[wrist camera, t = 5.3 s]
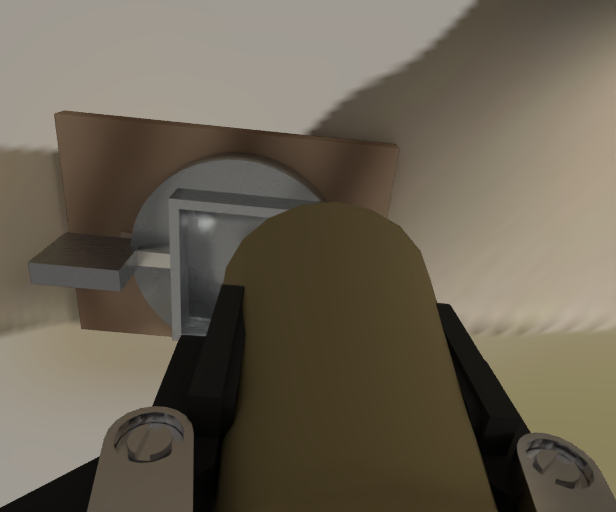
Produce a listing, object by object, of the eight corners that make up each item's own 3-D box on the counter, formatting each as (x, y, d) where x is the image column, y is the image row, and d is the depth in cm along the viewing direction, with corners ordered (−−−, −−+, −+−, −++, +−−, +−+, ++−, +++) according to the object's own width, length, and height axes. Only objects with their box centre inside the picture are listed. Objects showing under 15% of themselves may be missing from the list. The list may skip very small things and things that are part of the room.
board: (396, 144, 27) (400, 149, 26) (360, 342, 33) (362, 355, 32) (64, 110, 27) (51, 114, 25) (89, 319, 32) (79, 330, 31)
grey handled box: (352, 163, 26) (361, 189, 22) (327, 340, 31) (330, 392, 27) (62, 134, 26) (9, 155, 21) (85, 319, 31) (45, 368, 26)
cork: (254, 404, 15) (171, 1143, 5) (191, 231, 12) (-238, 978, 2) (443, 364, 14) (785, 1083, 4) (414, 177, 12) (1019, 813, 2)
